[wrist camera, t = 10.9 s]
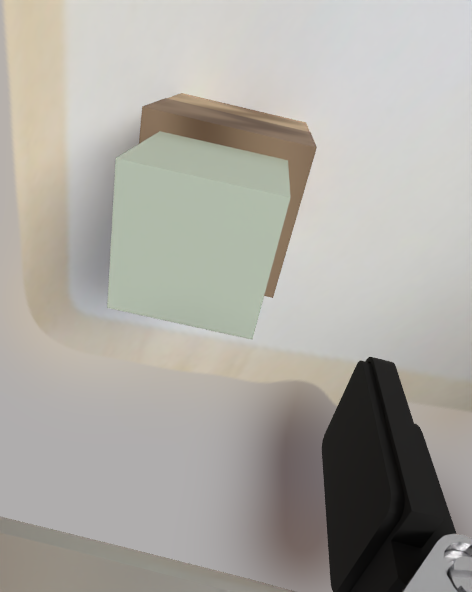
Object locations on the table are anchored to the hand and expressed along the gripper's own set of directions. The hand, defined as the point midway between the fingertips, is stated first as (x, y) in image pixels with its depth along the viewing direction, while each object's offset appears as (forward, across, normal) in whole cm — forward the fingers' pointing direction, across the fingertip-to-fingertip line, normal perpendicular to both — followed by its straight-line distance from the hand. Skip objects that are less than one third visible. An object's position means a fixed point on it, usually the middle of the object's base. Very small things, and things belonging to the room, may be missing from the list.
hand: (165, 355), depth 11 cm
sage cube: (+12, +1, 0) cm, 12 cm away
